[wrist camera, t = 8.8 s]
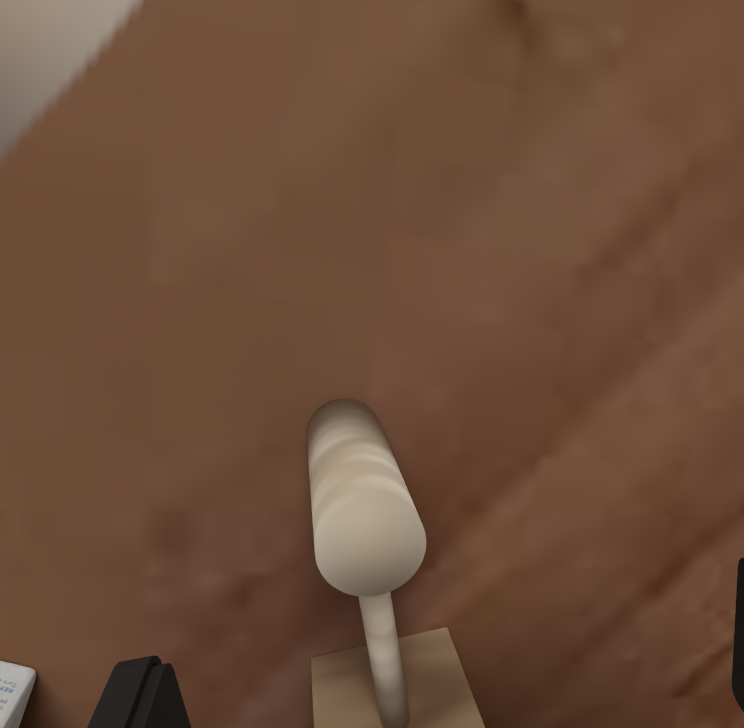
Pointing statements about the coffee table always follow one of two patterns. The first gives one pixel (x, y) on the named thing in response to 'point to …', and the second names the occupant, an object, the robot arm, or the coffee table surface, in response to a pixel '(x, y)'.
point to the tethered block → (375, 584)
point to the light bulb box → (14, 692)
